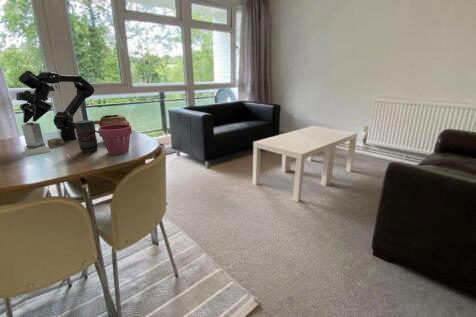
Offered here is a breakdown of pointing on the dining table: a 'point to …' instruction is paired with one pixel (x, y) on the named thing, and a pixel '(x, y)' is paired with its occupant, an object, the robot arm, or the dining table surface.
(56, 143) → the walnut block
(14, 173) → the dining table surface
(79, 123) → the camera lens
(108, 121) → the decorative planter
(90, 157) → the dining table surface
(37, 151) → the stand
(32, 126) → the housing
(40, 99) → the robot arm
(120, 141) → the plant pot
